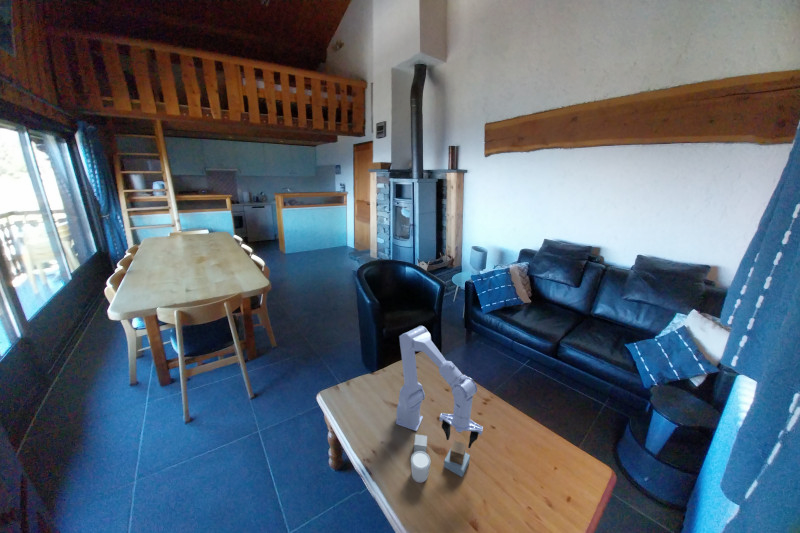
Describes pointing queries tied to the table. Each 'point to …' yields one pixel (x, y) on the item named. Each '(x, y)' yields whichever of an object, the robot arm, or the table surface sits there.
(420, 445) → the grey cube
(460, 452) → the walnut cube
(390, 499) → the table surface
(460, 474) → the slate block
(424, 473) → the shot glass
